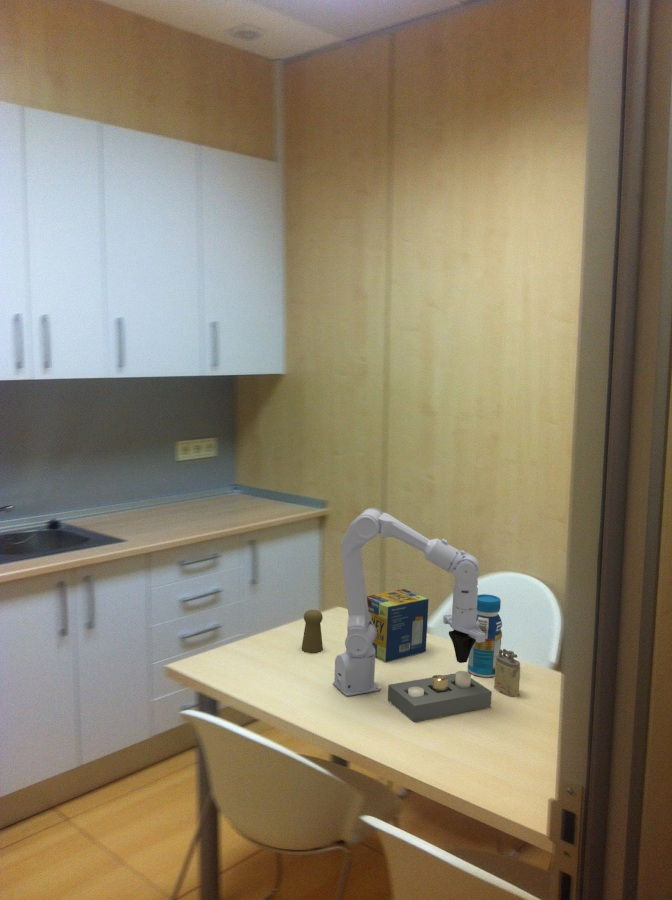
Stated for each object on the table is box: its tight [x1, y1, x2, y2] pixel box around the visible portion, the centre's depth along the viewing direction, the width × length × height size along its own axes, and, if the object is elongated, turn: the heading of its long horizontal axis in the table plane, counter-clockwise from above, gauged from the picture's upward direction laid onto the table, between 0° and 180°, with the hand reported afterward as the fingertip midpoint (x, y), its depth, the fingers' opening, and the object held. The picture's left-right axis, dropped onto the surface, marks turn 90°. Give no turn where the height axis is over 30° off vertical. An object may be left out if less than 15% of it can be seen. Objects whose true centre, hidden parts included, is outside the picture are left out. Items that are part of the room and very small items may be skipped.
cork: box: [301, 609, 324, 654], centre depth 210 cm, size 6×6×11 cm
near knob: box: [408, 687, 425, 698], centre depth 176 cm, size 4×4×4 cm
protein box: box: [367, 588, 429, 663], centre depth 210 cm, size 10×15×16 cm
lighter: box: [493, 648, 521, 697], centre depth 187 cm, size 7×4×10 cm, turn 33°
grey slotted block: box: [387, 672, 493, 723], centre depth 179 cm, size 21×12×4 cm, turn 115°
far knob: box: [455, 670, 472, 689], centre depth 181 cm, size 4×4×4 cm
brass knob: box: [432, 674, 448, 693], centre depth 178 cm, size 4×4×4 cm
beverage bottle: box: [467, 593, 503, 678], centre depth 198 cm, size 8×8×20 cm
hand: (461, 661), depth 180 cm, fingers closed
